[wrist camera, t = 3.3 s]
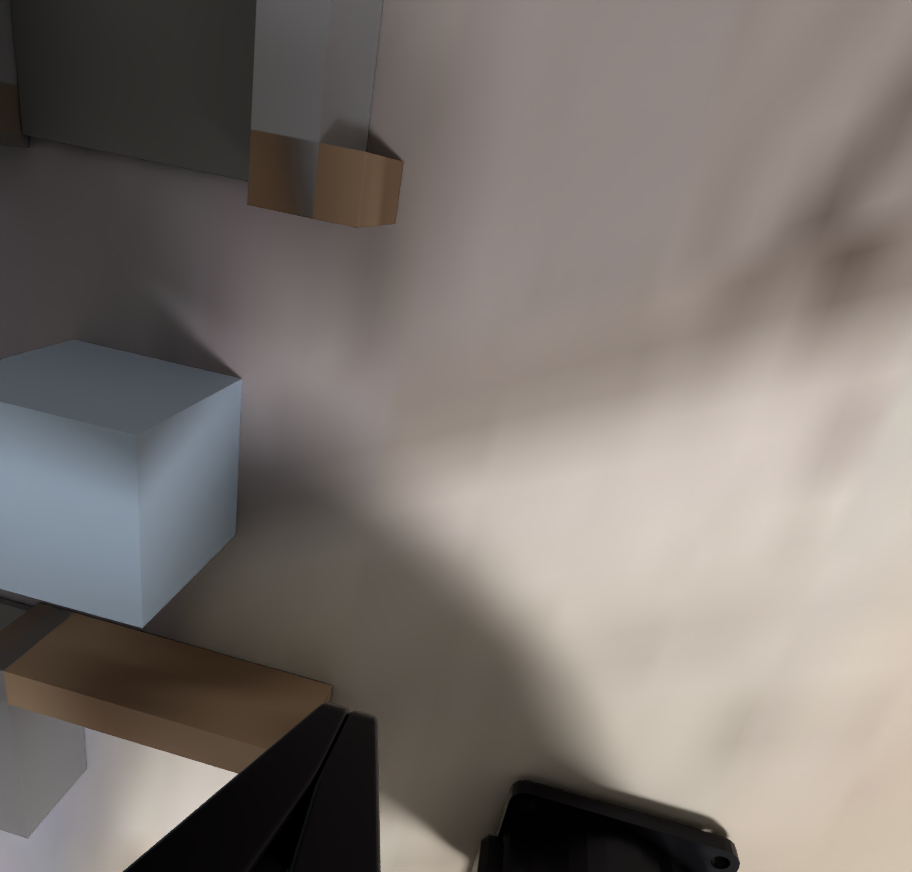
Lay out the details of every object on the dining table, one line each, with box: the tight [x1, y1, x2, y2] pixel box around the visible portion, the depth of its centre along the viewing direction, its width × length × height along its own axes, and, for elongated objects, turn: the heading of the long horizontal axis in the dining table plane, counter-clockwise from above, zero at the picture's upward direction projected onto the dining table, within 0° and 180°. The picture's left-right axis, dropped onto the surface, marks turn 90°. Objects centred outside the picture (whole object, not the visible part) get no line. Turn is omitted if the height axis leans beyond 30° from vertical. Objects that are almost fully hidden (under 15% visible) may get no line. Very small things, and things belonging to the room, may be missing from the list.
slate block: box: [0, 339, 242, 628], centre depth 14 cm, size 4×4×4 cm
